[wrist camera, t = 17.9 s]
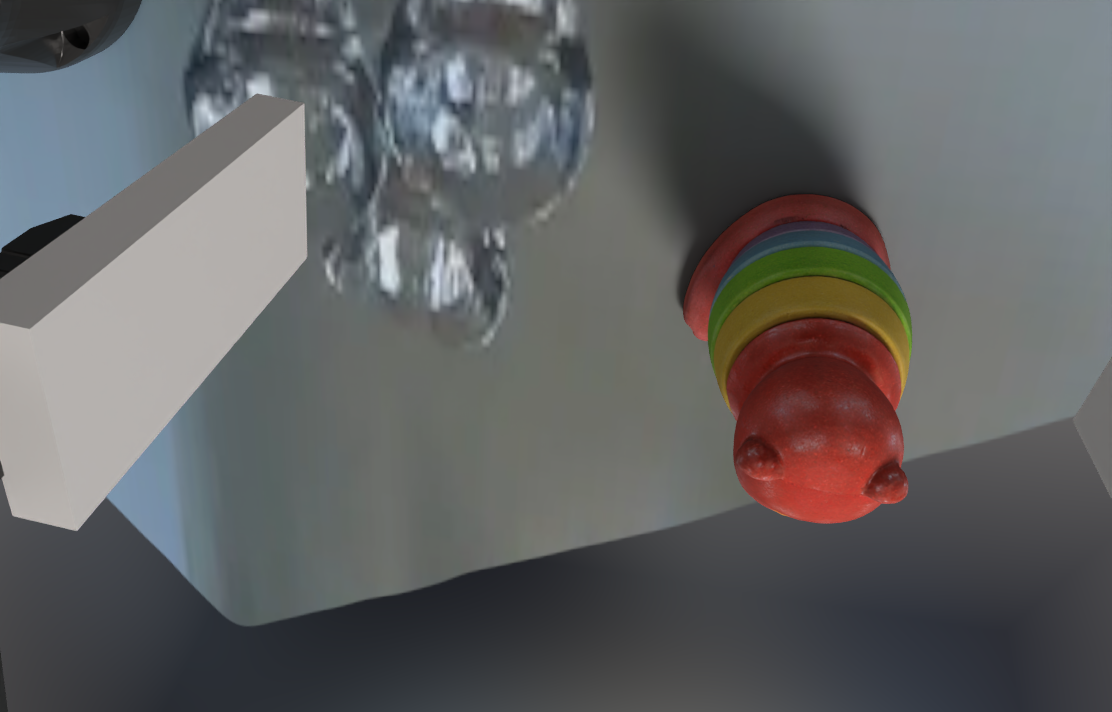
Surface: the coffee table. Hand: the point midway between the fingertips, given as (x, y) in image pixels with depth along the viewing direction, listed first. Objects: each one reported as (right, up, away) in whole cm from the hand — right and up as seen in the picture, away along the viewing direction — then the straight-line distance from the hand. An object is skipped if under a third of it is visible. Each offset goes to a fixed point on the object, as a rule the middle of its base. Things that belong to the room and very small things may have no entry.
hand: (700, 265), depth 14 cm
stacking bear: (+11, +3, +35) cm, 37 cm away
